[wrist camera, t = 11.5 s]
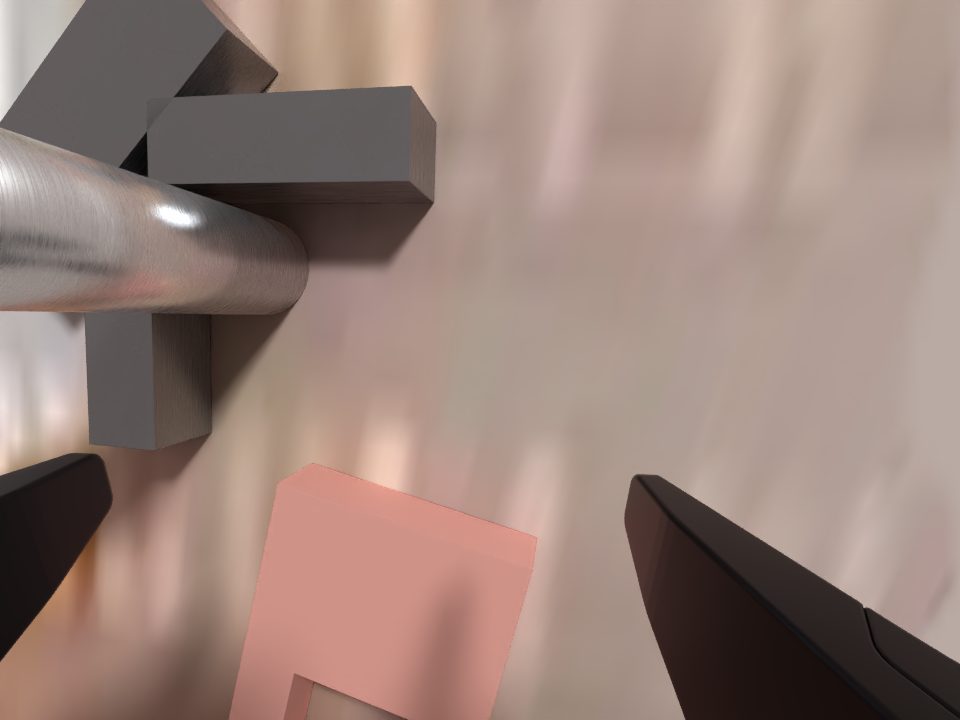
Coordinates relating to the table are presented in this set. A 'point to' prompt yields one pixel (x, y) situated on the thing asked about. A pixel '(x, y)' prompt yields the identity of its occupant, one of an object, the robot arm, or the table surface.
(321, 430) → the table surface
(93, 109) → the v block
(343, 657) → the beam plate
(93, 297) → the axle
